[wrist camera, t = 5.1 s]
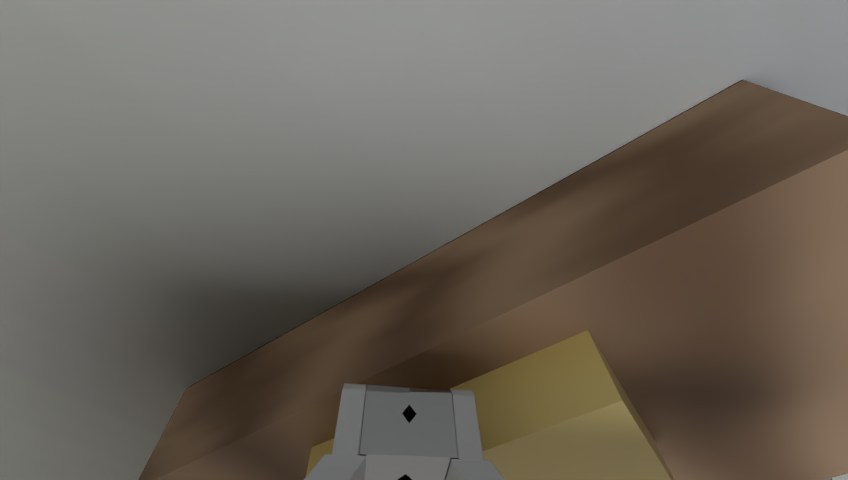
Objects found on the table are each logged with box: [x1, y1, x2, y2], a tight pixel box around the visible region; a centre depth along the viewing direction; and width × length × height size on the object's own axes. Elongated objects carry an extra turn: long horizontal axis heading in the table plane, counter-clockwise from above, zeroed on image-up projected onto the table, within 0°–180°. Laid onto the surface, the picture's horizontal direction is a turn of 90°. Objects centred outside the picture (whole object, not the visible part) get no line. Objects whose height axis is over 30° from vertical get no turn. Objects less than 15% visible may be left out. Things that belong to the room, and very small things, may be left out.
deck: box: [139, 80, 848, 480], centre depth 16 cm, size 22×14×4 cm, turn 124°
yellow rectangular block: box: [306, 330, 675, 480], centre depth 12 cm, size 9×6×2 cm, turn 123°
